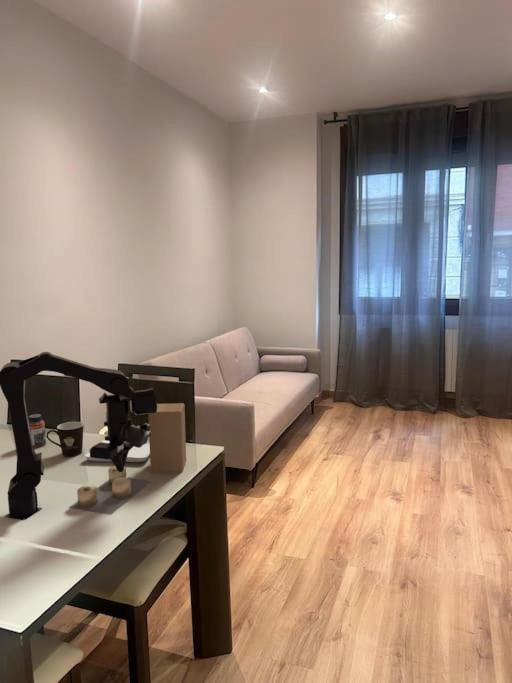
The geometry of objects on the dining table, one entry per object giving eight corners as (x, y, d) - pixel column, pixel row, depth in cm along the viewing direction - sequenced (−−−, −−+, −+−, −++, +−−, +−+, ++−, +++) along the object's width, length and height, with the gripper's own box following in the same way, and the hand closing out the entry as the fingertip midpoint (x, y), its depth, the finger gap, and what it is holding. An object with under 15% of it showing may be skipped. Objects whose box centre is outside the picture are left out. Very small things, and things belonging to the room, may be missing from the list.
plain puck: (124, 500, 132) (124, 486, 131) (109, 497, 134) (108, 483, 133) (134, 492, 137) (134, 478, 136) (119, 489, 138) (118, 476, 138)
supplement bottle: (28, 444, 178) (25, 414, 176) (45, 441, 181) (43, 412, 179) (28, 449, 173) (25, 418, 171) (46, 446, 175) (44, 416, 174)
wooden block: (186, 461, 160) (184, 402, 157) (182, 474, 150) (180, 411, 147) (156, 462, 160) (153, 403, 157) (150, 474, 150) (147, 412, 147)
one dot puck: (90, 509, 127) (89, 493, 127) (74, 506, 129) (73, 491, 128) (101, 500, 132) (100, 485, 131) (86, 498, 133) (85, 483, 133)
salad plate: (109, 443, 179) (108, 434, 179) (165, 444, 177) (164, 435, 177) (83, 466, 158) (82, 456, 158) (146, 467, 156) (146, 457, 156)
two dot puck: (120, 486, 140) (119, 472, 140) (105, 484, 142) (104, 470, 141) (129, 479, 145) (129, 466, 145) (115, 477, 147) (114, 464, 146)
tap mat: (111, 516, 124) (110, 514, 124) (68, 509, 128) (68, 507, 128) (152, 482, 144) (152, 481, 144) (114, 477, 148) (114, 475, 148)
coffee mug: (90, 450, 172) (88, 422, 170) (75, 459, 163) (73, 430, 162) (62, 447, 175) (60, 420, 173) (46, 455, 166) (43, 427, 165)
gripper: (124, 430, 121) (127, 489, 123) (161, 409, 138) (163, 462, 141) (86, 426, 124) (90, 484, 126) (127, 407, 142) (129, 458, 144)
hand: (120, 471), depth 134 cm, fingers closed
